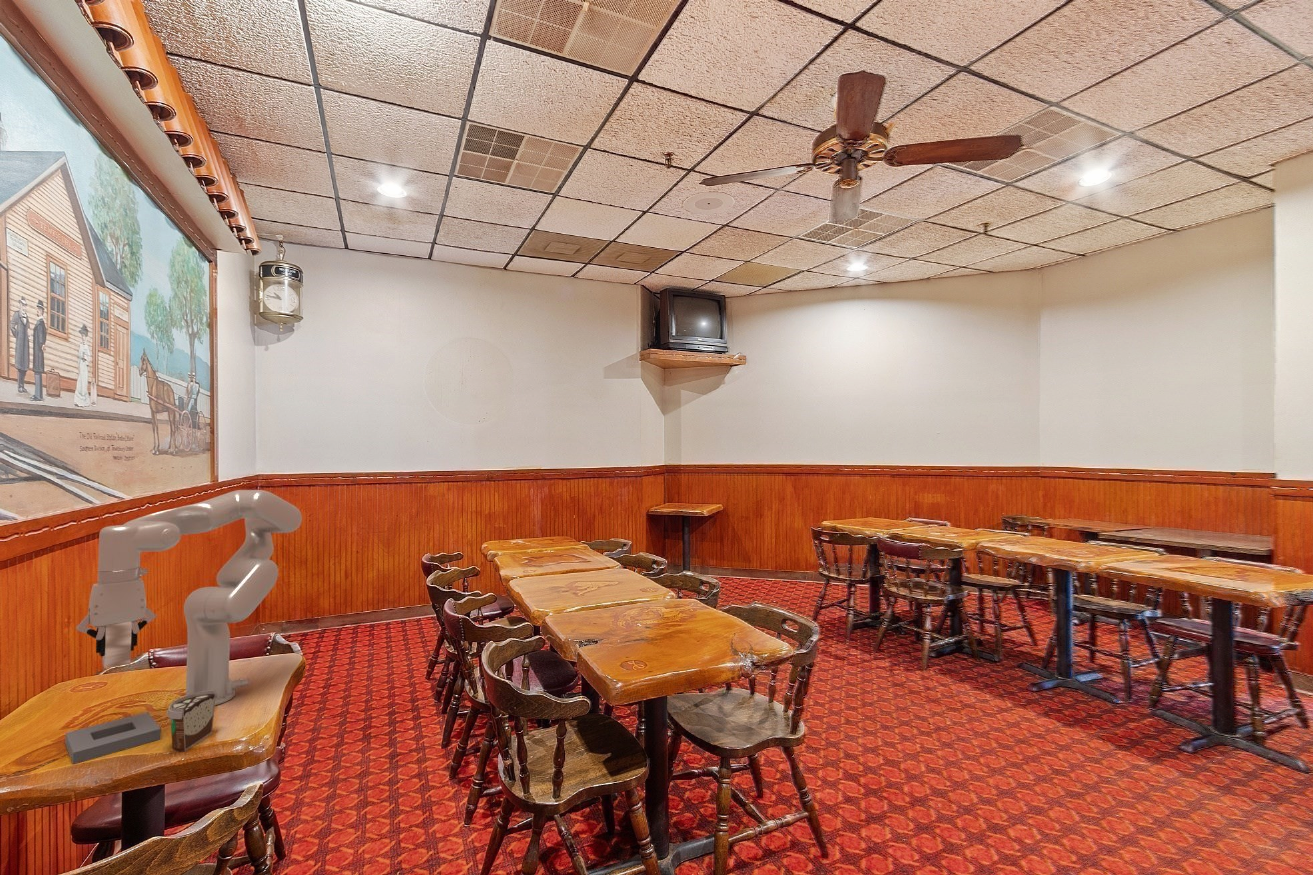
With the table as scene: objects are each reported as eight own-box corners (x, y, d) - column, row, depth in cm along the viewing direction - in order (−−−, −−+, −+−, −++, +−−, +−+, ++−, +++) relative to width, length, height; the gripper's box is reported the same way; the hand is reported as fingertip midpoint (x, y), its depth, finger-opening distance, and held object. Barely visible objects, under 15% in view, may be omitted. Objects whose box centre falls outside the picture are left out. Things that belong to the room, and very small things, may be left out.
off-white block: (127, 659, 143) (128, 618, 144) (130, 663, 141) (131, 621, 141) (102, 664, 140) (103, 622, 140) (105, 668, 137) (106, 625, 138)
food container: (190, 730, 145) (191, 690, 145) (216, 729, 145) (217, 689, 146) (151, 755, 133) (152, 711, 133) (180, 754, 133) (181, 709, 133)
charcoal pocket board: (147, 721, 150) (147, 711, 150) (160, 739, 140) (160, 728, 140) (65, 743, 138) (65, 732, 139) (73, 763, 129) (73, 752, 129)
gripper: (160, 569, 150) (158, 640, 149) (68, 580, 137) (65, 658, 136) (167, 573, 145) (165, 646, 145) (72, 584, 132) (69, 665, 132)
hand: (116, 651), depth 140 cm, fingers closed on off-white block, 4 cm apart
